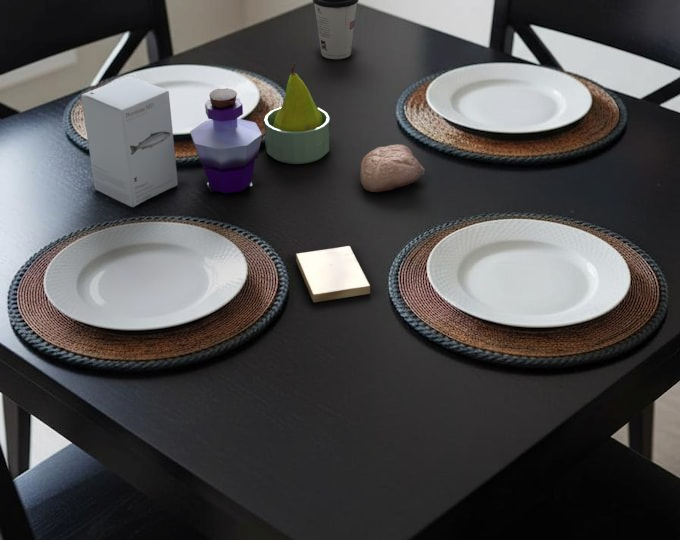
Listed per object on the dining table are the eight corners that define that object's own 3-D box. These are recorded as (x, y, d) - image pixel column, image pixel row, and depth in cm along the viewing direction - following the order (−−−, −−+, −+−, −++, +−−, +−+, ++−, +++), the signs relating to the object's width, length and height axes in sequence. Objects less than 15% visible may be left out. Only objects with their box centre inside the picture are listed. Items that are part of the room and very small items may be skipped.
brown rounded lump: (413, 161, 132) (353, 151, 129) (431, 132, 127) (369, 122, 124) (418, 211, 128) (356, 202, 126) (437, 184, 123) (372, 174, 121)
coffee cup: (315, 63, 159) (314, -2, 153) (312, 46, 164) (310, -17, 159) (361, 61, 159) (361, -4, 154) (356, 44, 165) (356, -19, 159)
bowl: (273, 169, 130) (271, 136, 128) (260, 140, 137) (258, 108, 135) (336, 160, 132) (336, 128, 130) (321, 132, 139) (320, 101, 136)
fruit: (306, 132, 138) (304, 46, 131) (331, 150, 134) (330, 61, 127) (264, 144, 135) (259, 57, 128) (288, 163, 131) (285, 73, 124)
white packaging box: (133, 209, 122) (119, 110, 115) (93, 189, 126) (78, 92, 119) (180, 186, 127) (170, 89, 120) (140, 167, 131) (128, 73, 124)
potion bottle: (238, 160, 132) (232, 71, 126) (279, 186, 127) (275, 94, 120) (180, 182, 128) (170, 90, 121) (220, 209, 122) (212, 115, 115)
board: (313, 302, 106) (313, 294, 106) (296, 261, 113) (295, 253, 112) (370, 293, 107) (370, 285, 107) (349, 253, 114) (349, 245, 113)
